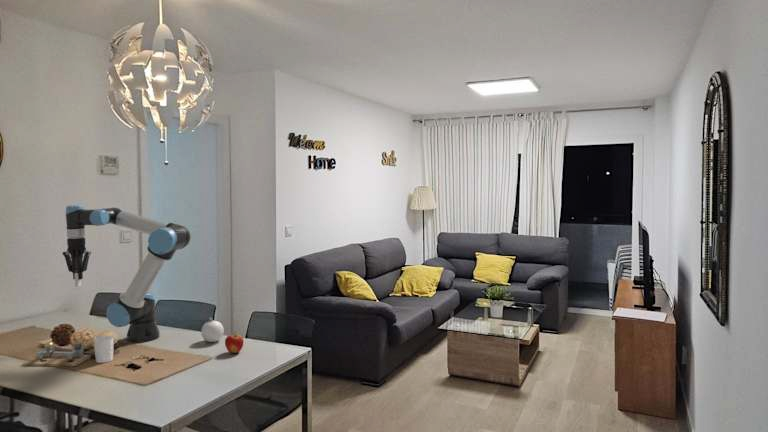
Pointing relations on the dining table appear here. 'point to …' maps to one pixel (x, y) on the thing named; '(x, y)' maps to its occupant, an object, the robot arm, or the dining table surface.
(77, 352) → the dividers beam
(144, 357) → the dining table surface
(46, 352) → the sliding leg
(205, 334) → the ornament
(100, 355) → the white cup
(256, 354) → the dining table surface
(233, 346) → the apple
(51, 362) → the jig board
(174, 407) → the dining table surface
